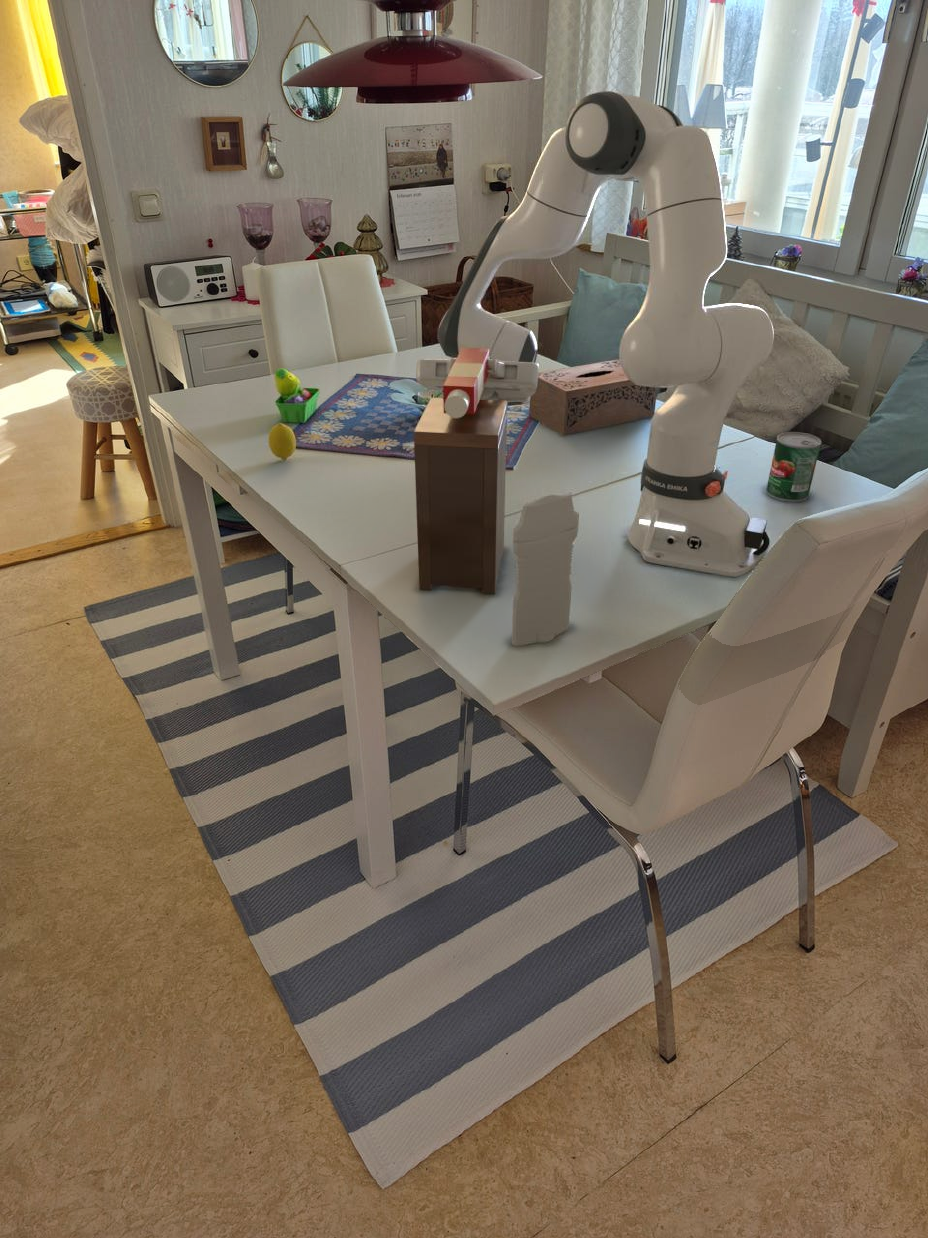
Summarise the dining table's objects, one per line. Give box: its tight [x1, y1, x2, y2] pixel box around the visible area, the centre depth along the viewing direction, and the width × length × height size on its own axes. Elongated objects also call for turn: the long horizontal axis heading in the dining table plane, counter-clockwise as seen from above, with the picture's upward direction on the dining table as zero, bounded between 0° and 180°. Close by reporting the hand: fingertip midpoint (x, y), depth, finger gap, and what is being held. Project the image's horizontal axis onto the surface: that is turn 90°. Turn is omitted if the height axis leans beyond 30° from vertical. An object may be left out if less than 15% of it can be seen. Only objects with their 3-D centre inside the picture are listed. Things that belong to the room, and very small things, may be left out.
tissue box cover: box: [528, 358, 659, 436], centre depth 200 cm, size 26×14×10 cm, turn 118°
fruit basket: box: [274, 367, 321, 424], centre depth 200 cm, size 11×9×11 cm
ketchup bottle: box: [442, 348, 489, 418], centre depth 128 cm, size 23×4×4 cm, turn 173°
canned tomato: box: [765, 431, 822, 503], centre depth 163 cm, size 8×8×11 cm
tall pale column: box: [511, 492, 580, 647], centre depth 118 cm, size 11×4×22 cm, turn 120°
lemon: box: [268, 422, 297, 461], centre depth 178 cm, size 6×6×8 cm
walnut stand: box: [413, 397, 508, 595], centre depth 134 cm, size 15×12×26 cm
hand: (473, 363), depth 135 cm, fingers closed on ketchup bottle, 4 cm apart
